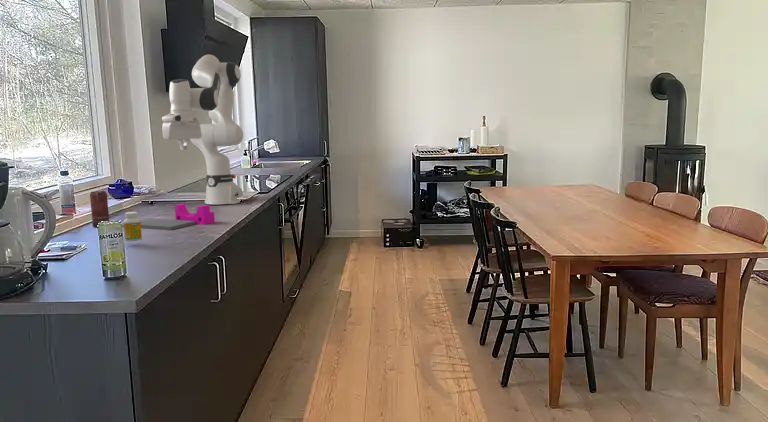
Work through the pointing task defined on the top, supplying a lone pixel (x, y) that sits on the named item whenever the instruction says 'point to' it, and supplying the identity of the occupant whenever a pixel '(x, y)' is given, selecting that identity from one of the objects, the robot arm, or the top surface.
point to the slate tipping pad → (165, 223)
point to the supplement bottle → (132, 227)
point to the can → (99, 207)
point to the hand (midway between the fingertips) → (183, 149)
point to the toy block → (195, 214)
